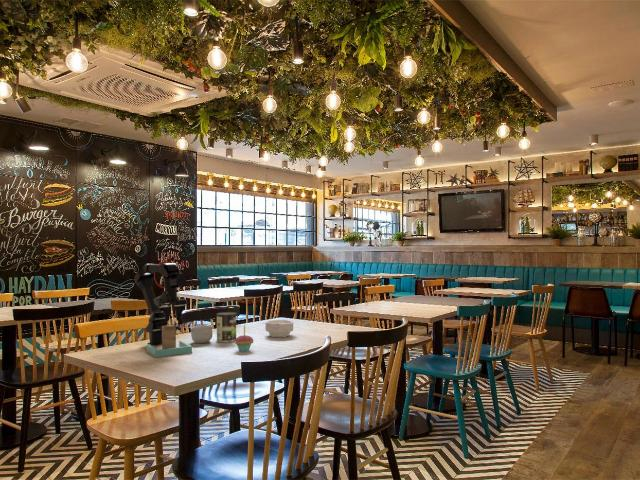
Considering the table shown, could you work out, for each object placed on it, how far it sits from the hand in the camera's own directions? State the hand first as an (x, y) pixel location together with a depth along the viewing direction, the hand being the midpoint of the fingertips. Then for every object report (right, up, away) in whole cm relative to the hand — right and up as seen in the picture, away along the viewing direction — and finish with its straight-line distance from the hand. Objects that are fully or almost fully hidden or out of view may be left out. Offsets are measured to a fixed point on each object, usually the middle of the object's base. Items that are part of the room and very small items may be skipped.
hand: (172, 320), depth 231 cm
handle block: (+1, -13, -9) cm, 16 cm away
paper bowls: (+49, -13, +29) cm, 59 cm away
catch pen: (+1, -13, -9) cm, 16 cm away
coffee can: (+23, -13, +17) cm, 32 cm away
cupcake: (+36, -13, -8) cm, 39 cm away
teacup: (+11, -13, +14) cm, 23 cm away
